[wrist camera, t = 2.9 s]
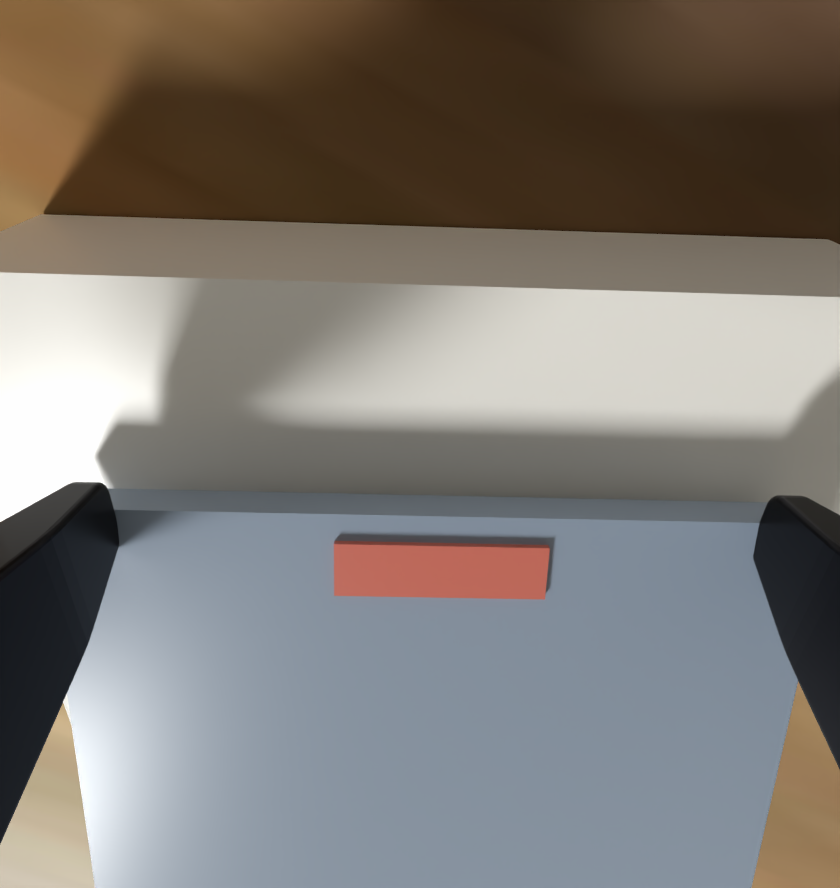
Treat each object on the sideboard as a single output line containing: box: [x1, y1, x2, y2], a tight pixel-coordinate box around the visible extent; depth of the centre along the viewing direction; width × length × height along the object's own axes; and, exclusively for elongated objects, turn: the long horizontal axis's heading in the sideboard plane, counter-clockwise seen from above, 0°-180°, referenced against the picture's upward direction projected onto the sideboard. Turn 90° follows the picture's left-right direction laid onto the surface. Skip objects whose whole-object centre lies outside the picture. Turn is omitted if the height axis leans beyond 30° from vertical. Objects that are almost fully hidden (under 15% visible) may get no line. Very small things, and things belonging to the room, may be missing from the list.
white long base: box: [0, 214, 840, 726], centre depth 17 cm, size 14×25×4 cm, turn 178°
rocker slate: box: [67, 488, 798, 888], centre depth 11 cm, size 11×8×2 cm
